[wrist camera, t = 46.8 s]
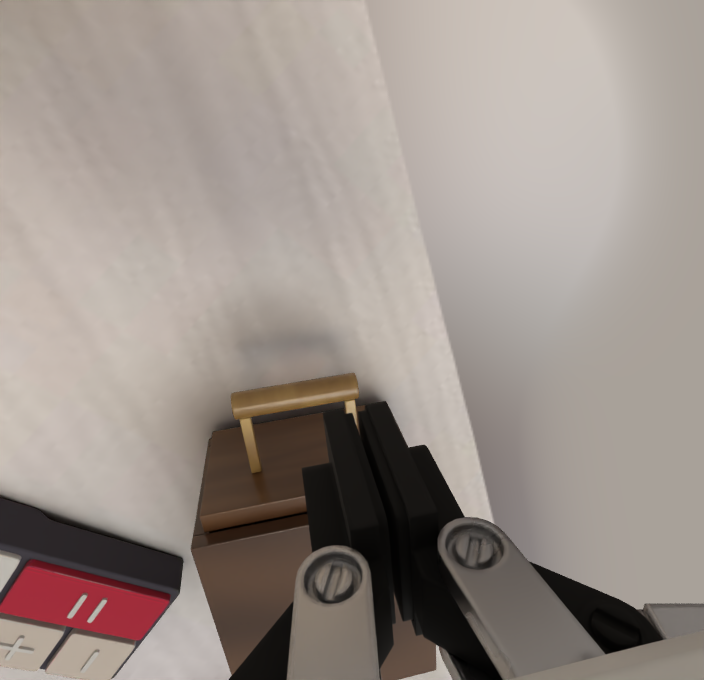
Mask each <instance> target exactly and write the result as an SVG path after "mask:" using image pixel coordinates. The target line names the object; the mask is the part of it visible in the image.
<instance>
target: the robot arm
mask: <svg viewBox="0 0 704 680" xmlns="http://www.w3.org/2000/svg"><path fill="white" fill-rule="evenodd" d="M358 420H359V431H360V435H359V432H358V429H357V425H356V422H355V419H354V416H353V414H352V413H346V414H345V413H344V410H343V409H337V410H331V411H326V412H323V421H324V428H325V435H326V443H327V450H328V457H329V463H325V464H320V465H314V466H309V467H304V468H302V476H303V484H304V492H305V500H306V508H307V516H308V524H309V531H310V539H311V547H312V554H310V555H309V556H308V557H307V558H306V559H305V560H304V561H303V563H302V564H301V566H300V567H299V569H298V572H297V576H296V581H295V592H294V601H293V602H292V603H291V604H290V606H289V607H288V608H287V609H286V611H285V612H284V613H283V614H282V615H281V617H280V618H279V619H278V620H277V621H276V623H275V624H274V625H273V626H272V628H271V629H270V630H269V631H268V632H267V634H266V635H265V636H264V637H263V638H262V640H261V641H260V642H259V643H258V645H257V646H256V647H255V648H254V649H253V651H252V652H251V653H250V654H249V655H248V657H247V658H246V659H245V660H244V662H243V663H242V664H241V665H240V666H239V668H238V669H237V670H236V671H235V672H234V674H233V675H232V676H231V677H230V679H229V680H382V679H381V666H382V664H383V663H384V661H385V659H386V658H387V656H388V654H389V652H390V651H391V649H392V647H393V645H394V639H393V626H392V624H396V616H395V603H394V595H395V598H396V601H397V605H398V608H399V612H400V615H401V618H402V621H403V622H404V621H409V620H411V622H412V625H413V628H414V631H415V634H416V636H418V635H422V634H423V637H424V638H426V639H427V640H429V641H431V642H433V643H434V644H436V645H438V646H439V650H440V653H441V656H442V659H443V661H444V663H445V665H446V667H447V669H448V671H449V673H450V675H451V677H452V679H453V680H704V604H645V605H644V608H643V610H636V609H635V608H634V607H632V606H630V605H628V604H627V603H625V602H623V601H621V600H619V599H617V598H614V597H612V596H609V595H607V594H605V593H603V592H600V591H598V590H595V589H593V588H591V587H588V586H586V585H583V584H581V583H579V582H577V581H574V580H572V579H569V578H567V577H565V576H562V575H560V574H558V573H555V572H553V571H550V570H548V569H546V568H543V567H541V566H539V565H536V564H533V563H532V562H529V561H528V560H527V559H526V558H525V557H524V556H523V554H522V553H521V552H520V551H519V549H518V548H517V547H516V546H515V545H514V543H513V542H512V541H511V540H510V539H509V537H508V536H507V535H506V534H505V533H504V532H503V531H502V530H501V529H500V528H499V527H497V526H496V525H494V524H493V523H491V522H489V521H487V520H483V519H479V518H472V517H464V515H463V513H462V511H461V509H460V507H459V506H458V504H457V502H456V500H455V498H454V496H453V494H452V492H451V491H450V489H449V487H448V485H447V483H446V481H445V479H444V477H443V476H442V474H441V472H440V470H439V468H438V466H437V464H436V462H435V461H434V459H433V457H432V455H431V453H430V451H429V449H428V448H427V446H425V445H420V446H415V447H409V448H408V447H407V445H406V443H405V440H404V438H403V436H402V434H401V432H400V430H399V428H398V426H397V423H396V421H395V419H394V417H393V415H392V413H391V411H390V409H389V407H388V404H387V403H386V401H383V402H377V403H371V404H365V410H363V411H358Z"/></svg>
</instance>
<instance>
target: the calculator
mask: <svg viewBox="0 0 704 680" xmlns="http://www.w3.org/2000/svg"><path fill="white" fill-rule="evenodd" d="M182 569H183V560H182V559H181V558H178V557H175V556H171V555H168V554H164V553H161V552H158V551H154V550H151V549H147V548H144V547H141V546H137V545H134V544H130V543H127V542H123V541H120V540H117V539H113V538H110V537H106V536H103V535H100V534H96V533H93V532H89V531H86V530H82V529H79V528H76V527H72V526H69V525H65V524H62V523H59V522H55V521H52V520H49V519H48V518H47V517H46V516H45V515H44V514H43V513H42V512H41V511H40V510H39V509H36V508H33V507H29V506H26V505H23V504H19V503H16V502H13V501H9V500H6V499H3V498H0V666H1V667H7V668H13V669H20V670H26V671H37V670H38V669H39V668H40V669H46V670H45V673H47V674H51V675H57V676H63V677H70V678H76V679H82V680H110V679H112V678H114V677H115V676H116V674H117V673H118V672H119V670H120V669H121V668H122V667H123V665H124V664H125V663H126V662H127V660H128V659H129V658H130V656H131V655H132V654H133V653H134V651H135V650H136V649H137V647H138V646H139V645H140V644H141V642H142V641H143V640H144V639H145V637H146V636H147V635H148V633H149V632H150V631H151V630H152V628H153V627H154V626H155V624H156V623H157V622H158V621H159V619H160V618H161V617H162V615H163V614H164V613H165V612H166V610H167V609H168V608H169V607H170V605H171V604H172V603H173V601H174V600H175V599H176V598H177V596H178V595H179V593H180V586H181V578H182Z"/></svg>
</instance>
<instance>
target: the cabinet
mask: <svg viewBox="0 0 704 680" xmlns="http://www.w3.org/2000/svg"><path fill="white" fill-rule="evenodd" d="M389 409H390V408H389ZM390 411H391V410H390ZM391 413H392V412H391ZM392 415H393V414H392ZM393 417H394V416H393ZM394 419H395V418H394ZM395 421H396V420H395ZM397 426H398V425H397ZM398 428H399V427H398ZM399 430H400V429H399ZM400 432H401V431H400ZM401 434H402V433H401ZM402 436H403V435H402ZM403 438H404V437H403ZM404 440H405V439H404ZM405 443H406V442H405ZM210 445H211V439H209V442H208V448H207V454H206V460H205V466H204V472H203V478H202V484H201V491H200V497H199V503H198V509H197V515H196V521H195V527H194V533H193V539H192V545H191V552H192V555H193V558H194V561H195V564H196V567H197V570H198V573H199V576H200V579H201V583H202V586H203V589H204V592H205V595H206V598H207V601H208V604H209V607H210V610H211V613H212V616H213V619H214V622H215V625H216V629H217V632H218V635H219V638H220V641H221V644H222V647H223V650H224V653H225V656H226V659H227V662H228V665H229V668H230V672H231V675H233V674H234V672H235V671H236V670H237V669H238V668H239V666H240V665H241V664H242V663H243V662H244V660H245V659H246V658H247V657H248V655H249V654H250V653H251V652H252V651H253V649H254V648H255V647H256V646H257V645H258V643H259V642H260V641H261V640H262V638H263V637H264V636H265V635H266V634H267V632H268V631H269V630H270V629H271V628H272V626H273V625H274V624H275V623H276V621H277V620H278V619H279V618H280V617H281V615H282V614H283V613H284V612H285V611H286V609H287V608H288V607H289V606H290V604H291V603H292V602H293V601H294V592H295V581H296V576H297V572H298V569H299V567H300V566H301V564H302V563H303V561H304V560H305V559H306V558H307V557H308V556H309V555H310V554H312V547H311V539H310V531H309V524H308V516H307V514H302V515H297V516H292V517H288V518H283V519H278V520H273V521H268V522H263V523H258V524H253V525H248V526H243V527H238V528H233V529H228V530H226V528H224V529H219V530H214V531H209V532H204V530H203V527H202V524H201V520H200V517H199V516H200V510H201V503H202V497H203V490H204V484H205V477H206V471H207V465H208V458H209V452H210ZM406 445H407V444H406ZM407 447H408V446H407ZM394 603H395V616H396V624H392V626H393V639H394V645H393V647H392V649H391V651H390V652H389V654H388V656H387V658H386V659H385V661H384V663H383V664H382V666H381V679H382V680H399V679H402V678H406V677H410V676H414V675H418V674H422V673H426V672H430V671H434V670H436V644H434V643H433V642H431V641H429V640H427V639H426V638H424V637H423V634H422V635H418V636H416V634H415V631H414V628H413V625H412V622H411V620H409V621H404V622H403V621H402V618H401V615H400V612H399V608H398V605H397V601H396V598H395V595H394Z"/></svg>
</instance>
